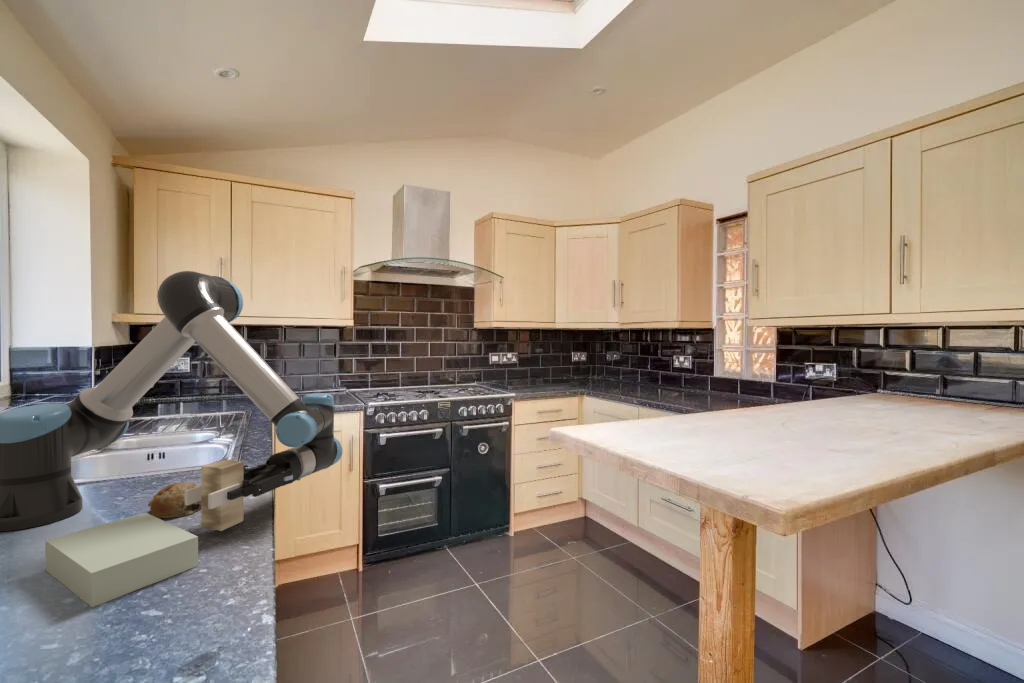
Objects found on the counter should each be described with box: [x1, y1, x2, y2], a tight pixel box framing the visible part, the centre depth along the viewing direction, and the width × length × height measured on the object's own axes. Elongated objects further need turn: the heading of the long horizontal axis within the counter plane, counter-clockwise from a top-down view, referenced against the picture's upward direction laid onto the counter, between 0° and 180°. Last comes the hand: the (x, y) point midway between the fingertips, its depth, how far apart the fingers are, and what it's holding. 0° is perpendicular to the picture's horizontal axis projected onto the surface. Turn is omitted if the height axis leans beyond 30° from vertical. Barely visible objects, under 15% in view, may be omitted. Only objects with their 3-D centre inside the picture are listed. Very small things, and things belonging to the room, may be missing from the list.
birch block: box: [200, 459, 244, 532], centre depth 91 cm, size 5×5×12 cm
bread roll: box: [147, 482, 201, 519], centre depth 103 cm, size 10×10×8 cm
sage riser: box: [44, 512, 199, 608], centre depth 78 cm, size 20×14×5 cm
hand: (198, 499), depth 86 cm, fingers closed on birch block, 5 cm apart
